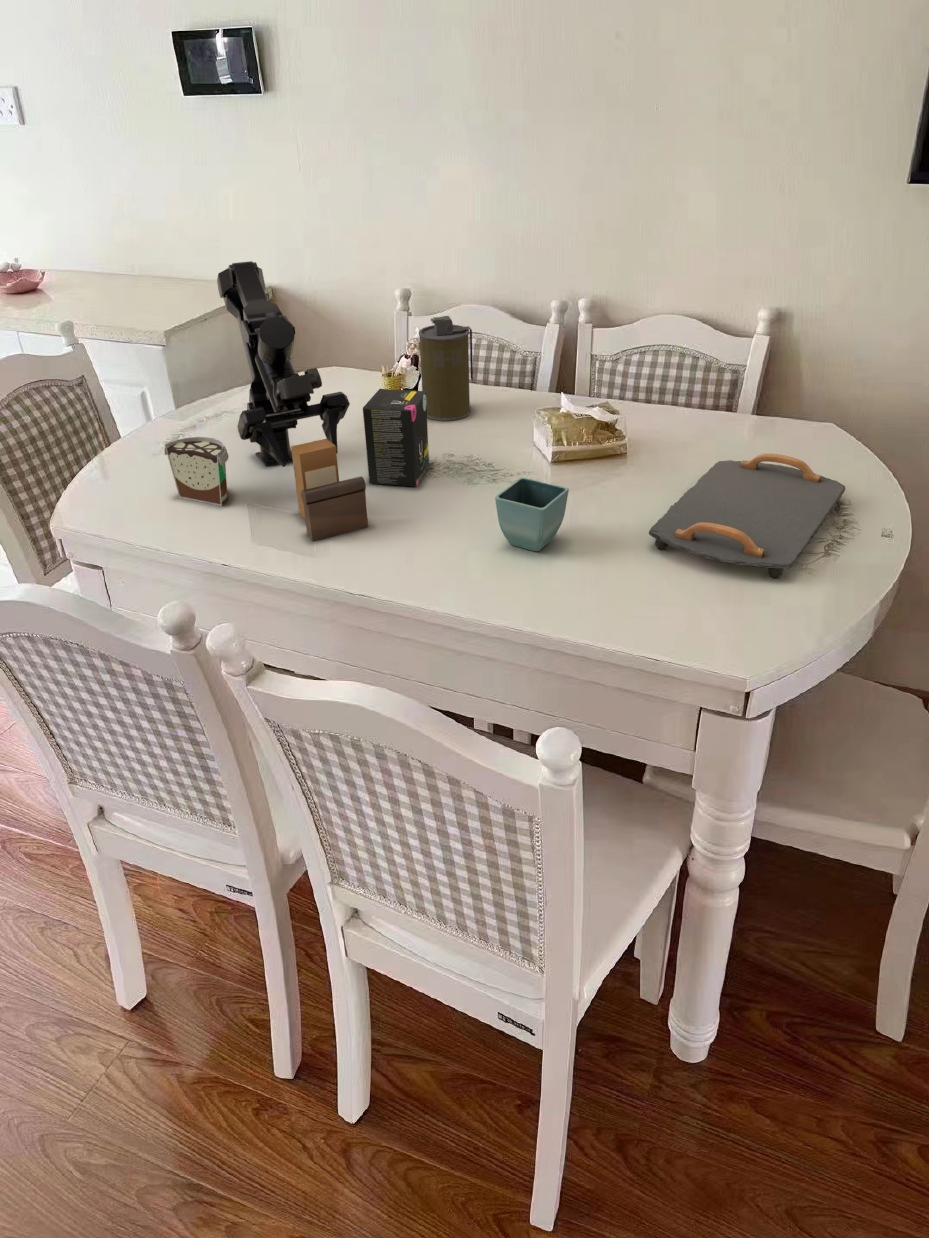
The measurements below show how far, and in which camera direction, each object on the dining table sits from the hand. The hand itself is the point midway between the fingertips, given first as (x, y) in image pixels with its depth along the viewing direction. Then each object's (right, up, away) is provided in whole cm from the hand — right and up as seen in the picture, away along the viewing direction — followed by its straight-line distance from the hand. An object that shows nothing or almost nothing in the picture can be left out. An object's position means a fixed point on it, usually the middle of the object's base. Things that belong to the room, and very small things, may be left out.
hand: (310, 460), depth 163 cm
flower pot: (+37, -15, -7) cm, 40 cm away
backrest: (+5, -12, -2) cm, 13 cm away
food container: (-20, -5, +11) cm, 23 cm away
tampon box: (+14, 0, +17) cm, 22 cm away
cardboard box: (+1, -9, +3) cm, 9 cm away
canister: (+22, +17, +44) cm, 52 cm away
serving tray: (+73, -11, -3) cm, 74 cm away
